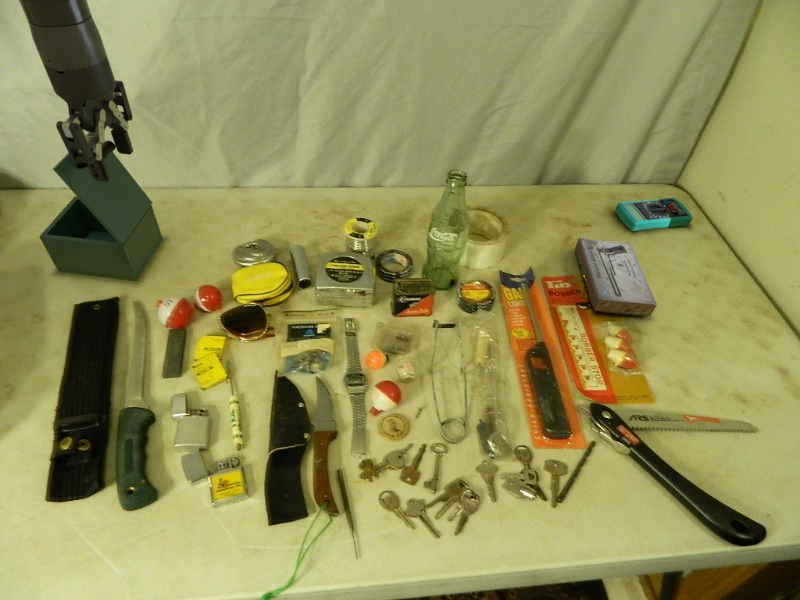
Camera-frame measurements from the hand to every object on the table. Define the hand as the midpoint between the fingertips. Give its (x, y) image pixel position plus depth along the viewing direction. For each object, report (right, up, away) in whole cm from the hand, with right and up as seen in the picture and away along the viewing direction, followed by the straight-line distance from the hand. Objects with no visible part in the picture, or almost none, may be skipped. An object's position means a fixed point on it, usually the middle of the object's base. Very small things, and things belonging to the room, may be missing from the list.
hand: (114, 165), depth 80 cm
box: (+82, -17, +18) cm, 86 cm away
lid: (-3, -3, +3) cm, 5 cm away
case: (-8, -12, +14) cm, 20 cm away
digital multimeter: (+97, -3, +33) cm, 102 cm away
